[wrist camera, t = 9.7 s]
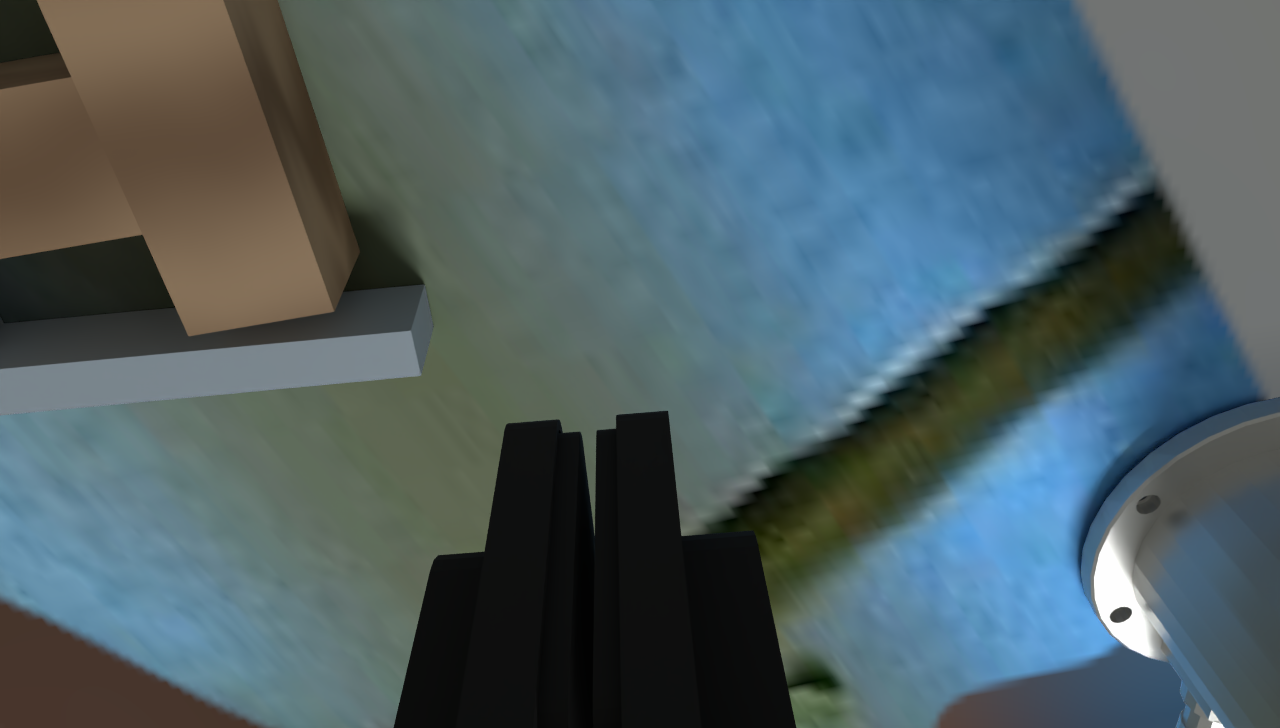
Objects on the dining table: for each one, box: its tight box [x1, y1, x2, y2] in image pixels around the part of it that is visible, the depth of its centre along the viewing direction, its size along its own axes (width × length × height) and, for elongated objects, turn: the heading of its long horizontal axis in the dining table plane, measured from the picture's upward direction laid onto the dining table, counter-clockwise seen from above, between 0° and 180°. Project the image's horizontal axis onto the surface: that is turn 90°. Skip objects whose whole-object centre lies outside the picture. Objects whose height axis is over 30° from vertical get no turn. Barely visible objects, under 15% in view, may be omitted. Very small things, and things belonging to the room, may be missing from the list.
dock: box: [0, 284, 434, 415], centre depth 25 cm, size 16×14×3 cm
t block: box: [0, 0, 360, 336], centre depth 25 cm, size 10×10×4 cm
